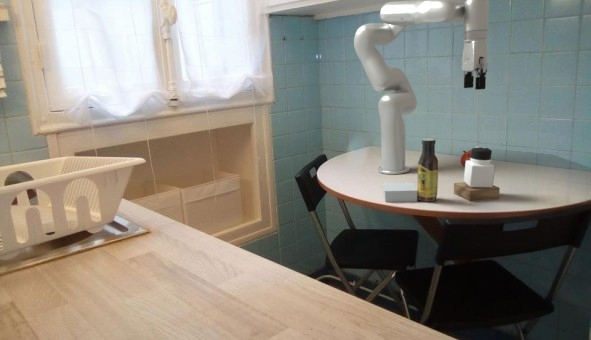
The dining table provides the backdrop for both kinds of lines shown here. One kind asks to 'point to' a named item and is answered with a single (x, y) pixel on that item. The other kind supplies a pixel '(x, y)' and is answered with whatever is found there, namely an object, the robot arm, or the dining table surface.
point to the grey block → (400, 192)
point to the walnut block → (476, 192)
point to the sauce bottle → (427, 172)
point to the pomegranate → (465, 157)
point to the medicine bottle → (479, 168)
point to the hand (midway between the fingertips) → (474, 88)
